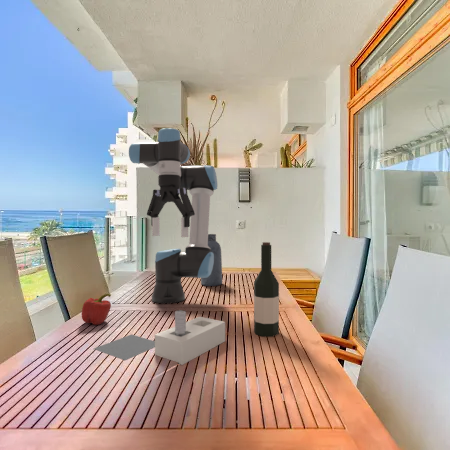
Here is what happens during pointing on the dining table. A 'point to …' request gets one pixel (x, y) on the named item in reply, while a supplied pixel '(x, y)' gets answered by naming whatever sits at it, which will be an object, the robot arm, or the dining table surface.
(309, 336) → the dining table surface
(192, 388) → the dining table surface
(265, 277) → the wine bottle
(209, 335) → the block
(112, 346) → the mat
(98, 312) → the vegetable
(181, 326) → the peg
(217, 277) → the blue-grey bottle
